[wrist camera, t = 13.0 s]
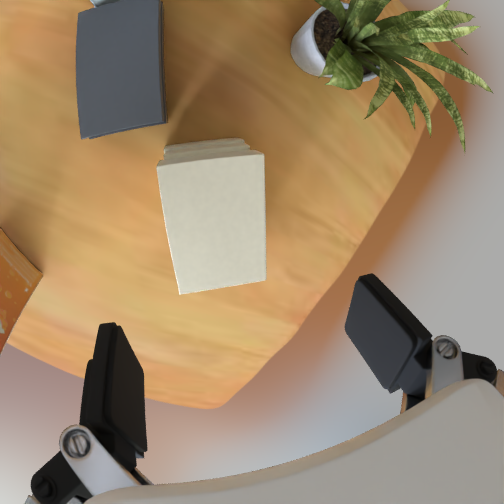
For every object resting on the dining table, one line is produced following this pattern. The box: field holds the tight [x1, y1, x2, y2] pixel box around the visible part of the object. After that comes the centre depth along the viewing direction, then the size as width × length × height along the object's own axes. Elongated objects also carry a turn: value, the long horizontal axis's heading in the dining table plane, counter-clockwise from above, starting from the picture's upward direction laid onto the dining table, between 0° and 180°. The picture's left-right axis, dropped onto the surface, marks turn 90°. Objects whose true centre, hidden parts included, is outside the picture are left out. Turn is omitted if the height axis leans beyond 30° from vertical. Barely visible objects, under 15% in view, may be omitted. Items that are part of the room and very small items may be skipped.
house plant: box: [291, 0, 493, 151], centre depth 13 cm, size 14×14×16 cm
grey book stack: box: [76, 0, 168, 139], centre depth 15 cm, size 11×6×4 cm, turn 2°
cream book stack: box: [164, 138, 250, 160], centre depth 23 cm, size 11×6×4 cm, turn 2°
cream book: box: [157, 150, 266, 294], centre depth 20 cm, size 10×7×2 cm
